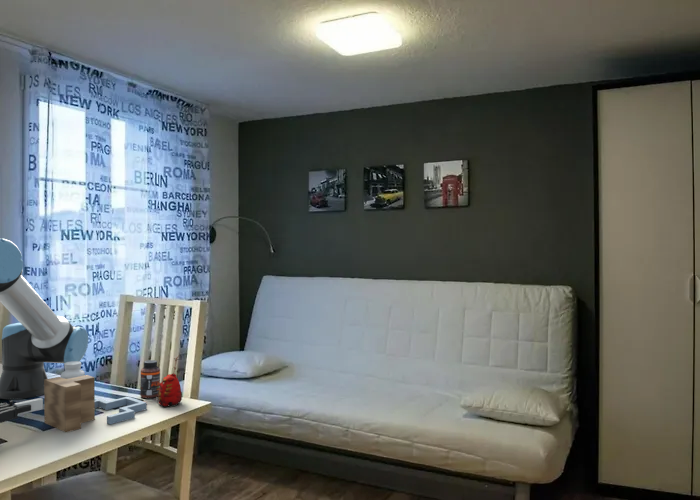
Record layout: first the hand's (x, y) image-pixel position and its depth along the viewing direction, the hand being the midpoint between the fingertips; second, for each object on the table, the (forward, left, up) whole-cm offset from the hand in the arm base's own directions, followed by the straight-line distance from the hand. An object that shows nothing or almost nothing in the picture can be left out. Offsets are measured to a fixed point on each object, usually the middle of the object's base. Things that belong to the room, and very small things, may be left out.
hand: (41, 403), depth 150 cm
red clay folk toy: (+6, +36, -8) cm, 37 cm away
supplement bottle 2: (-6, +37, -8) cm, 38 cm away
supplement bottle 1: (-16, +17, -8) cm, 24 cm away
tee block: (0, +9, -7) cm, 11 cm away
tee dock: (0, +21, -7) cm, 22 cm away
